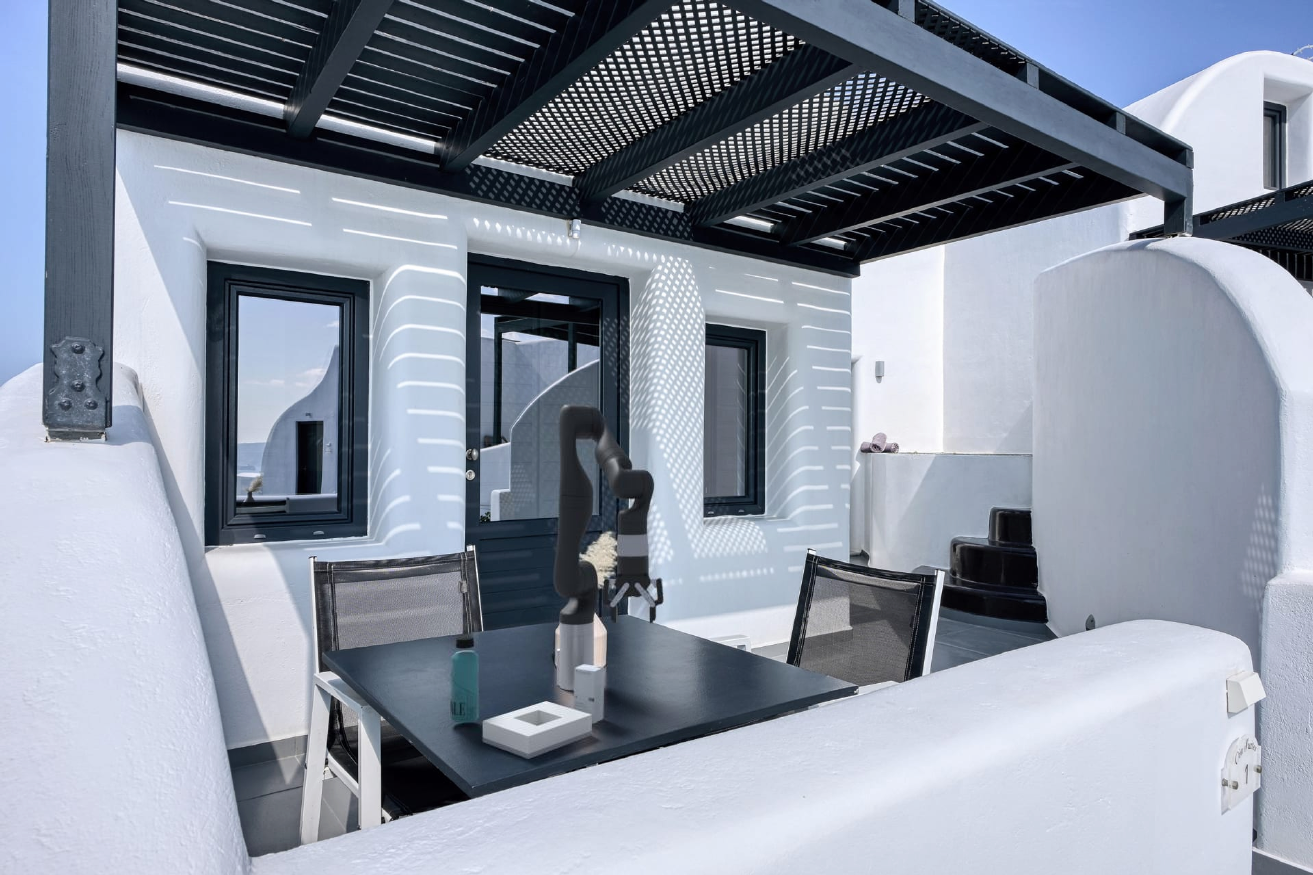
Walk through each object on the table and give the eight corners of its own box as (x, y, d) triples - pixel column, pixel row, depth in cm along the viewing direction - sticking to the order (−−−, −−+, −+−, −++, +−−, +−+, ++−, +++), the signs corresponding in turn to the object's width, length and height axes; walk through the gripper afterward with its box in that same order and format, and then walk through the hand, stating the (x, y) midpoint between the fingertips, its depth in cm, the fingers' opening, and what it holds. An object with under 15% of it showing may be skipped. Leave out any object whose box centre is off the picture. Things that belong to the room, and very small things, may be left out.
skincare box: (572, 720, 183) (572, 667, 184) (583, 715, 187) (583, 663, 187) (594, 724, 180) (594, 671, 180) (605, 719, 184) (605, 666, 184)
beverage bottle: (481, 720, 184) (482, 633, 184) (476, 729, 177) (476, 640, 177) (453, 720, 183) (454, 634, 184) (447, 730, 177) (447, 640, 177)
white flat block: (482, 741, 169) (482, 720, 169) (546, 720, 183) (546, 701, 183) (528, 759, 159) (528, 736, 160) (591, 735, 173) (591, 714, 173)
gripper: (663, 552, 190) (664, 620, 189) (605, 552, 191) (606, 620, 190) (661, 554, 183) (662, 625, 182) (600, 555, 184) (601, 625, 183)
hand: (633, 622), depth 186 cm, fingers open, 8 cm apart
